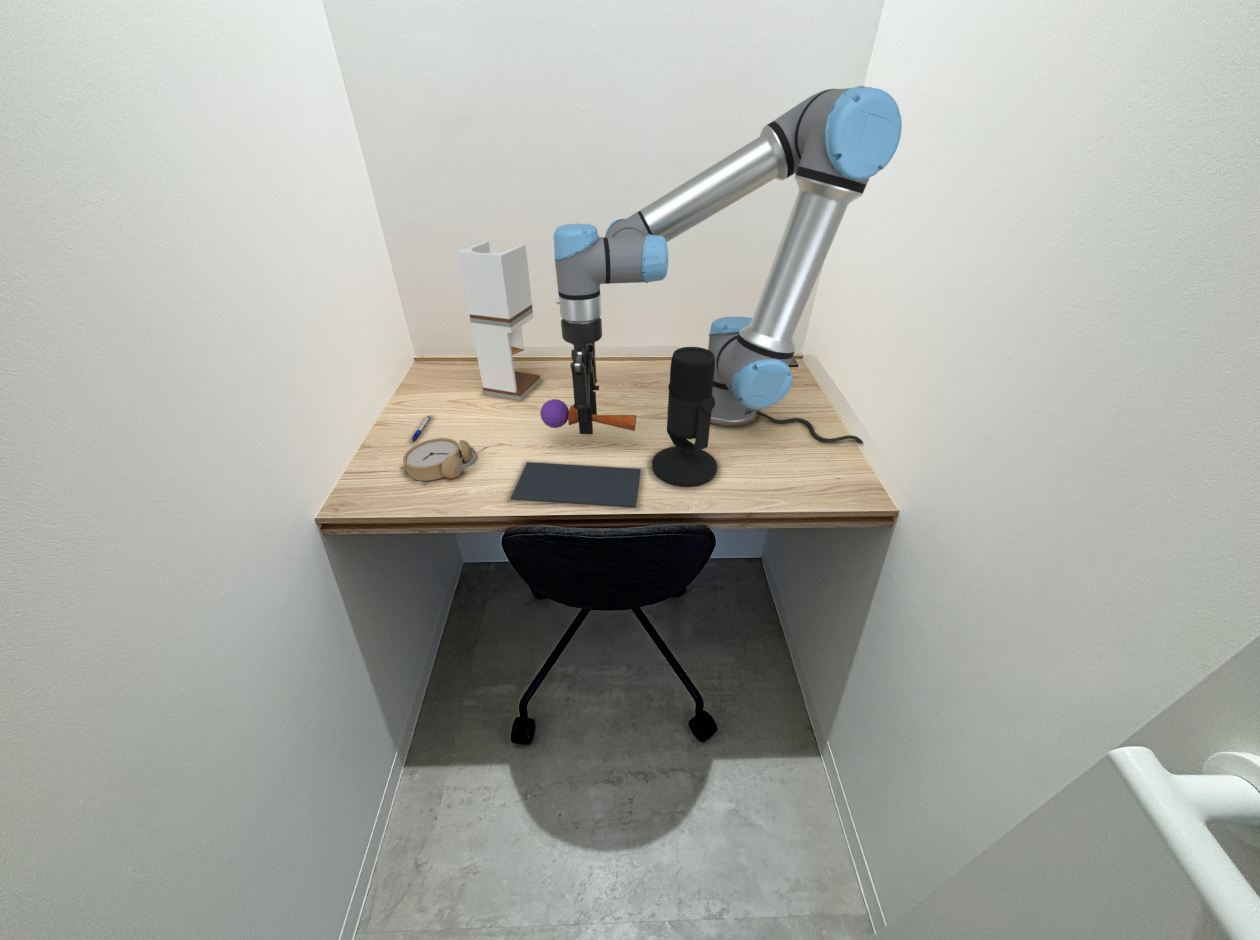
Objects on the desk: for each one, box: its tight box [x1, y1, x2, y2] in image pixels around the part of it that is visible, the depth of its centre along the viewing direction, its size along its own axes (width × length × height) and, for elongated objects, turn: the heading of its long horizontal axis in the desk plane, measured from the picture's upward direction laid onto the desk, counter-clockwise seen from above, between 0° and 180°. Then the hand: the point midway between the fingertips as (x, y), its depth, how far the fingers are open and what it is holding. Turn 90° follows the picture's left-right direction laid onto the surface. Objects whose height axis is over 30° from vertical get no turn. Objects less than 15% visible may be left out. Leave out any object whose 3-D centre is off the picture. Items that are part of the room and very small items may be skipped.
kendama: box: [539, 398, 637, 432], centre depth 105 cm, size 6×6×20 cm
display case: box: [457, 241, 541, 401], centre depth 124 cm, size 11×11×35 cm
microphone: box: [651, 346, 718, 488], centre depth 98 cm, size 14×14×25 cm
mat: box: [510, 461, 642, 508], centre depth 100 cm, size 24×12×1 cm, turn 84°
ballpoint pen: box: [411, 415, 430, 442], centre depth 117 cm, size 10×1×1 cm, turn 1°
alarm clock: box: [399, 437, 478, 482], centre depth 104 cm, size 11×5×15 cm
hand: (588, 426), depth 106 cm, fingers closed on kendama, 5 cm apart
